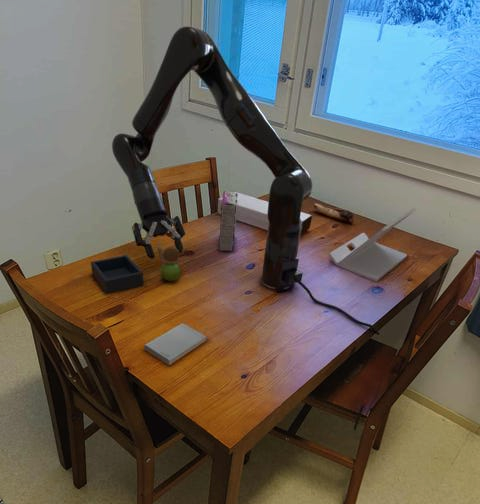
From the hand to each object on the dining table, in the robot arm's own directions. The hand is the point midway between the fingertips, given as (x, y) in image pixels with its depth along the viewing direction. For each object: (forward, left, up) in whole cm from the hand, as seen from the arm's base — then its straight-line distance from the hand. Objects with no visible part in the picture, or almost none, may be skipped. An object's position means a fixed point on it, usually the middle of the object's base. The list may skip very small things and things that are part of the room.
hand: (166, 255), depth 129 cm
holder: (+5, +13, -7) cm, 16 cm away
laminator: (+22, -50, -8) cm, 55 cm away
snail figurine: (-1, 0, -8) cm, 8 cm away
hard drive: (-29, +12, -8) cm, 32 cm away
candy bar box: (+12, -28, -8) cm, 31 cm away
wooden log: (+16, -82, -8) cm, 84 cm away
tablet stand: (-17, -67, -8) cm, 69 cm away
